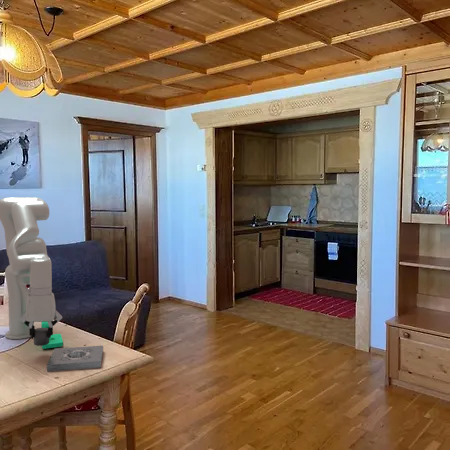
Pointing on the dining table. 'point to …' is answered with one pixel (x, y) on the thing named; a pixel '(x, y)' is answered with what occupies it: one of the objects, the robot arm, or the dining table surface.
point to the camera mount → (52, 338)
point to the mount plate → (75, 358)
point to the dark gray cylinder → (41, 336)
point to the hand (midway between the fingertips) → (41, 336)
